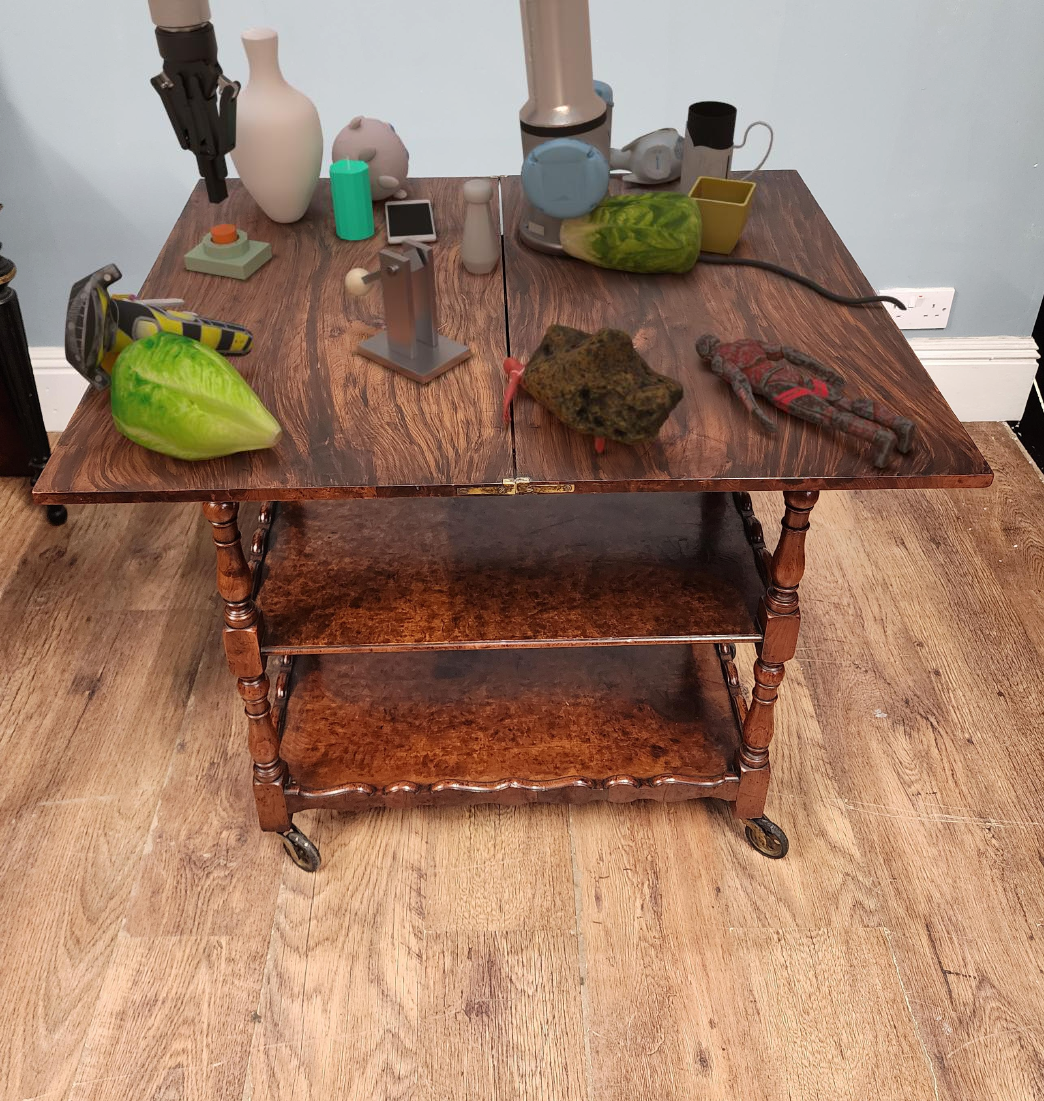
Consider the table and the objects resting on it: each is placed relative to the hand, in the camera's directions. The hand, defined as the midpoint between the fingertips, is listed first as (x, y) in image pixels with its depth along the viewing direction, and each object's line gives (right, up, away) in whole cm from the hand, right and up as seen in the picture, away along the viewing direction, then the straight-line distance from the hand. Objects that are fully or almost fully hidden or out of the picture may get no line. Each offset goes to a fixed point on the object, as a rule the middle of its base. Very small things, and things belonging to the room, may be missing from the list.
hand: (219, 199), depth 156 cm
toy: (+20, +9, +14) cm, 26 cm away
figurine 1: (+55, -37, -30) cm, 73 cm away
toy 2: (+2, -23, -17) cm, 29 cm away
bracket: (+30, -25, -14) cm, 41 cm away
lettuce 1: (+7, -36, -26) cm, 45 cm away
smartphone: (+26, +1, +17) cm, 31 cm away
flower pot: (+73, -4, +10) cm, 74 cm away
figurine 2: (+87, -39, -33) cm, 101 cm away
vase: (+6, +3, +18) cm, 19 cm away
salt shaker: (+37, -9, +5) cm, 39 cm away
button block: (0, -7, +7) cm, 10 cm away
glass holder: (+76, +6, +22) cm, 79 cm away
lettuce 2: (+60, -8, +6) cm, 60 cm away
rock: (+58, -35, -40) cm, 79 cm away
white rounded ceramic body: (+65, +14, +23) cm, 71 cm away
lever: (+26, -17, -17) cm, 36 cm away
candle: (+17, -1, +15) cm, 23 cm away
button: (0, -5, +4) cm, 6 cm away
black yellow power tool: (+6, -27, -33) cm, 43 cm away
